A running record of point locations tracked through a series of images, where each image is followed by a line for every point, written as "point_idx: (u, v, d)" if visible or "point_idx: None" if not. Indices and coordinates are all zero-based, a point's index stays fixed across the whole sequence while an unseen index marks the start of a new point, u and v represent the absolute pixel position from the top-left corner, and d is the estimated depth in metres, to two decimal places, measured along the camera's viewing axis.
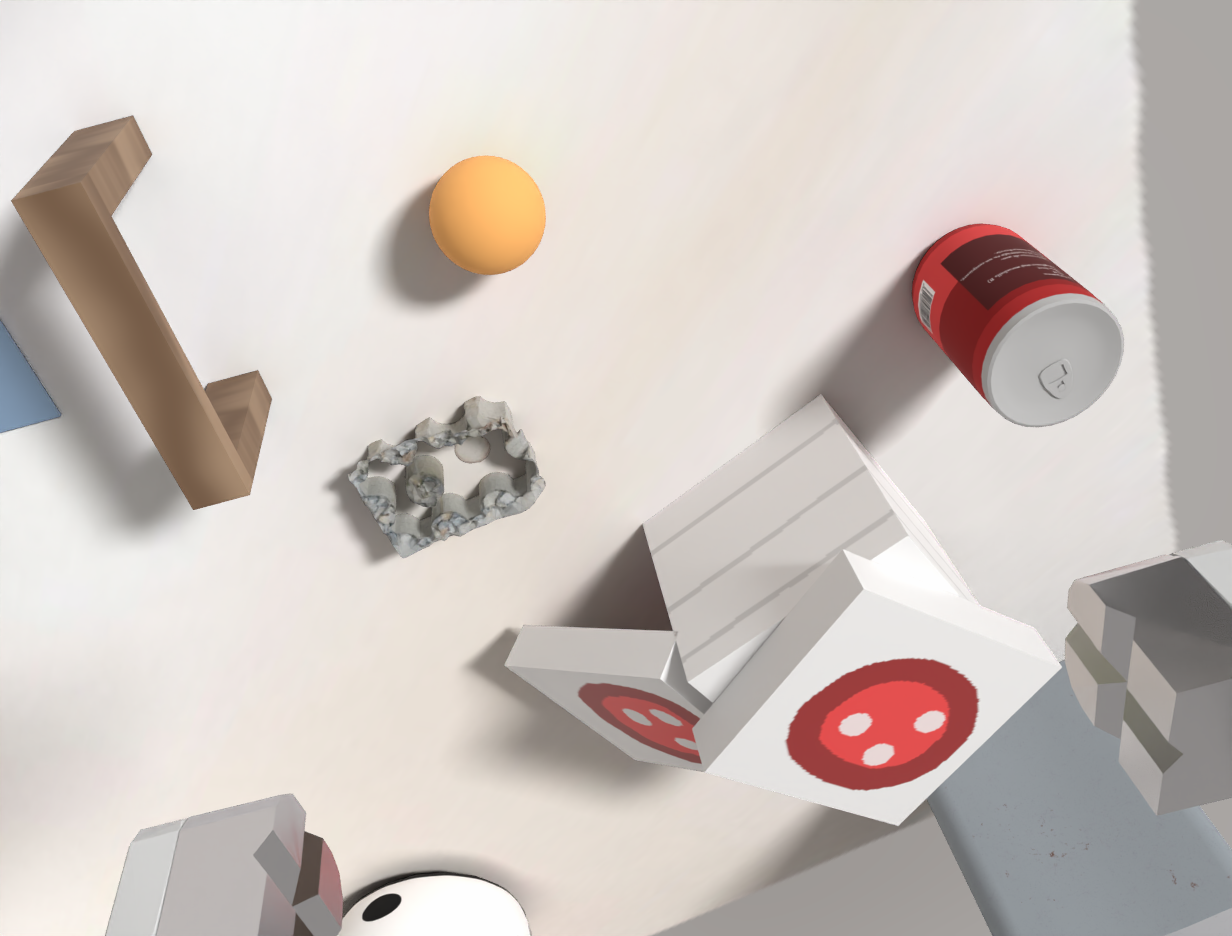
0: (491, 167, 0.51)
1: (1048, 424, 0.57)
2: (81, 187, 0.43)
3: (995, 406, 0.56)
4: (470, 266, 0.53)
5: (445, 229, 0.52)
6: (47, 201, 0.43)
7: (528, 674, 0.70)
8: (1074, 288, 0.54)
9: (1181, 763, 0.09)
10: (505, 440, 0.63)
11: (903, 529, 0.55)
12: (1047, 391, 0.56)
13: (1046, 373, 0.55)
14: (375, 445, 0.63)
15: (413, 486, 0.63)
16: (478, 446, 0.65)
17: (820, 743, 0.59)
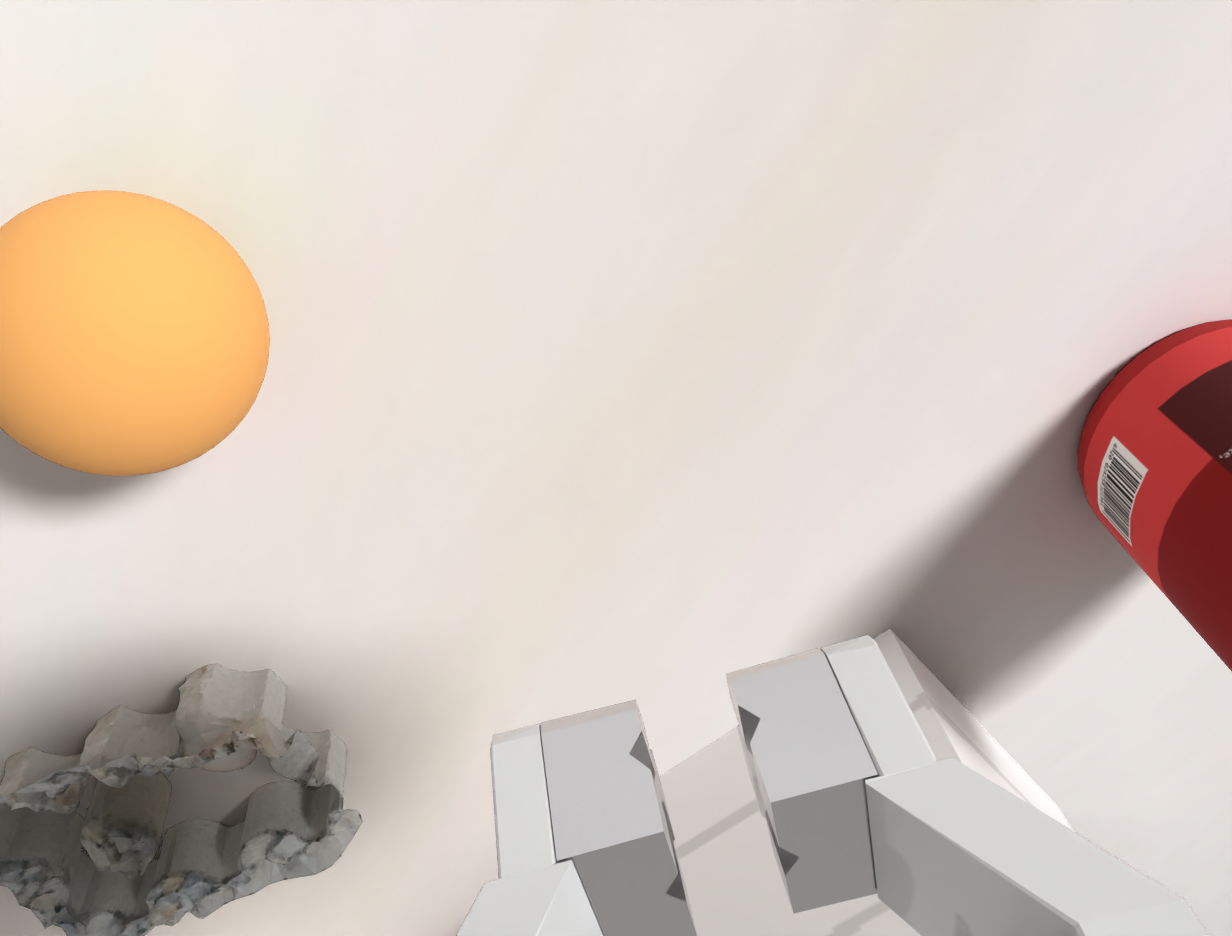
0: (89, 222, 0.20)
1: None
2: None
3: None
4: (65, 466, 0.21)
5: None
6: None
7: None
8: None
9: (801, 865, 0.09)
10: None
11: None
12: None
13: None
14: (17, 762, 0.32)
15: (91, 844, 0.32)
16: None
17: None
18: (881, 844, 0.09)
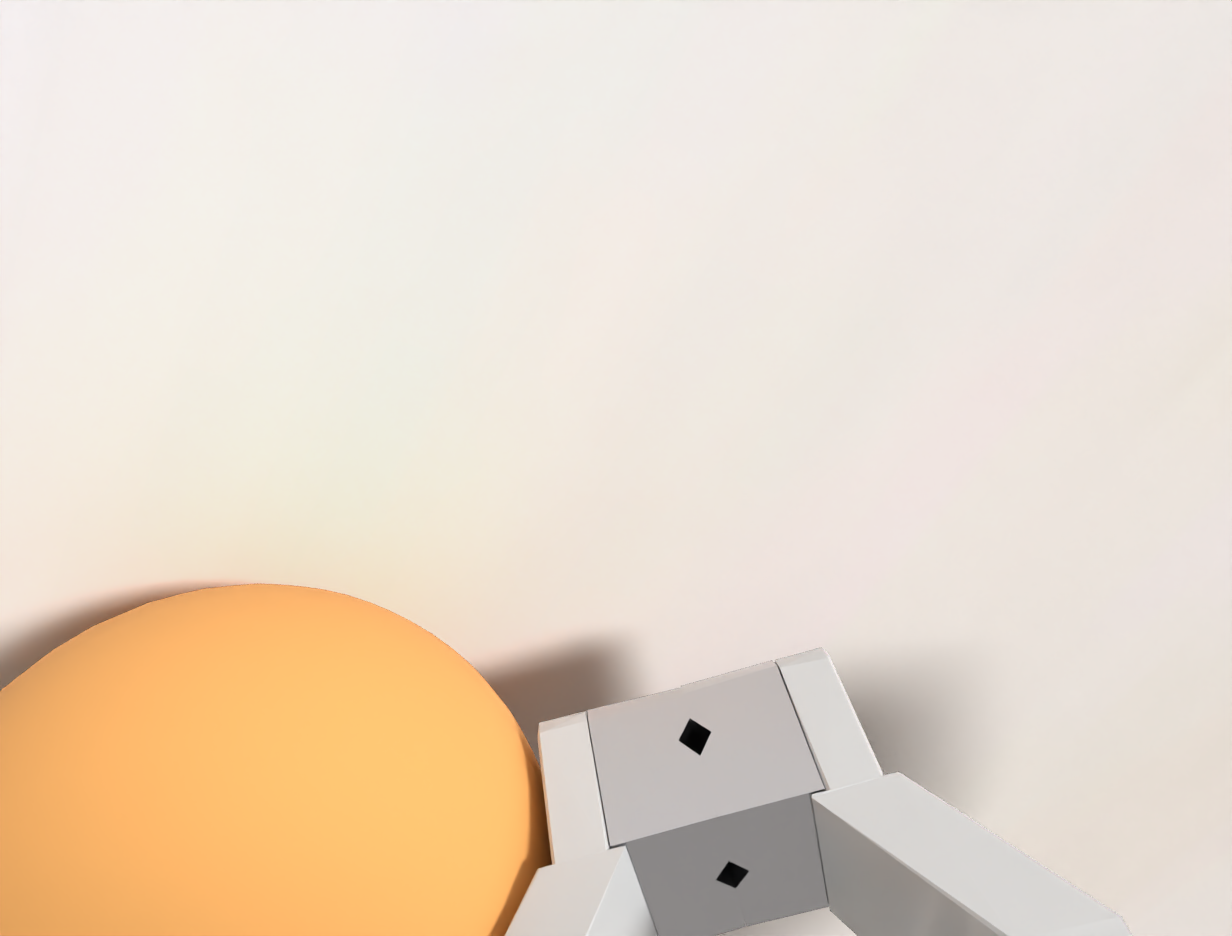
0: (157, 840, 0.07)
1: None
2: None
3: None
4: None
5: None
6: None
7: None
8: None
9: (751, 879, 0.09)
10: None
11: None
12: None
13: None
14: None
15: None
16: None
17: None
18: (829, 858, 0.09)
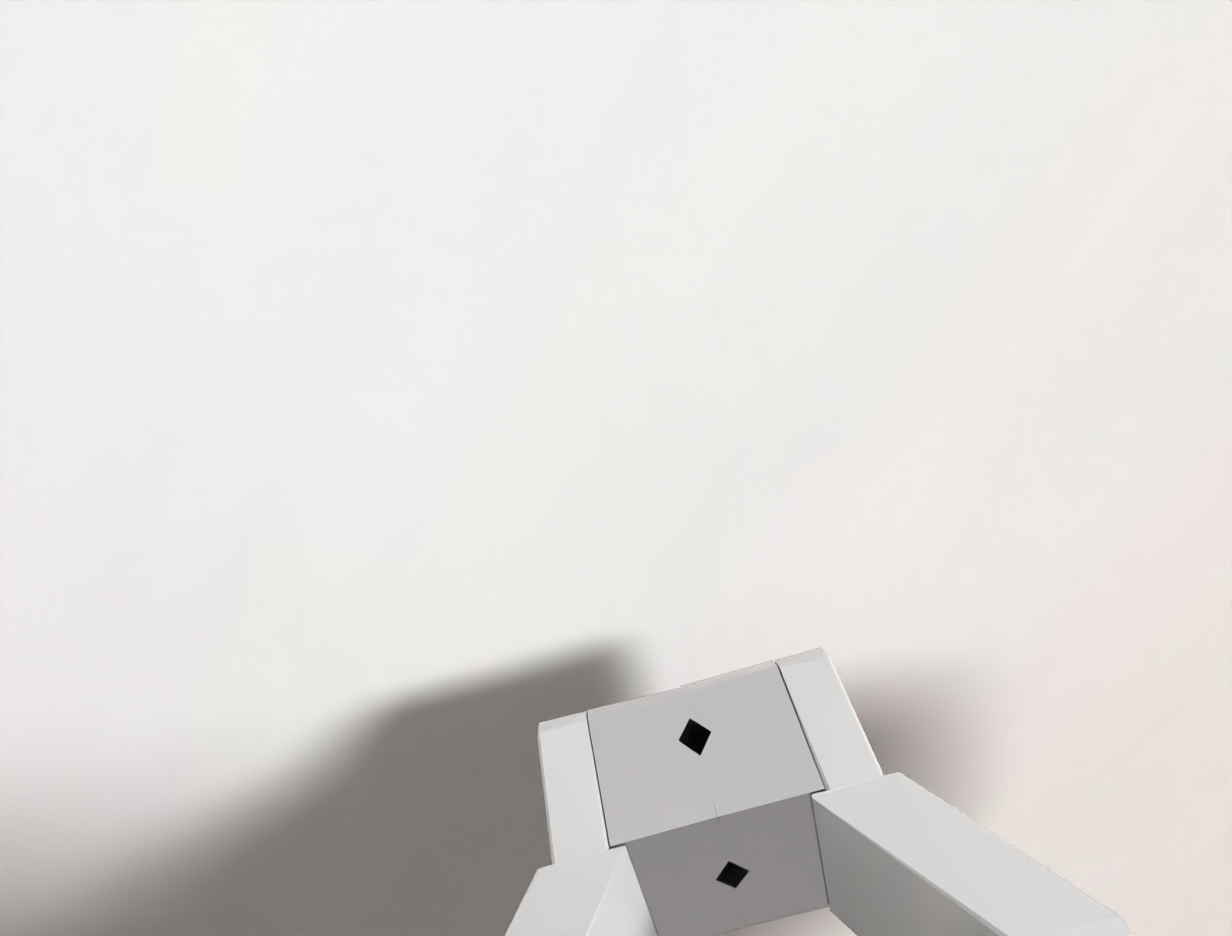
0: None
1: None
2: None
3: None
4: None
5: None
6: None
7: None
8: None
9: (751, 879, 0.09)
10: None
11: None
12: None
13: None
14: None
15: None
16: None
17: None
18: (829, 858, 0.09)
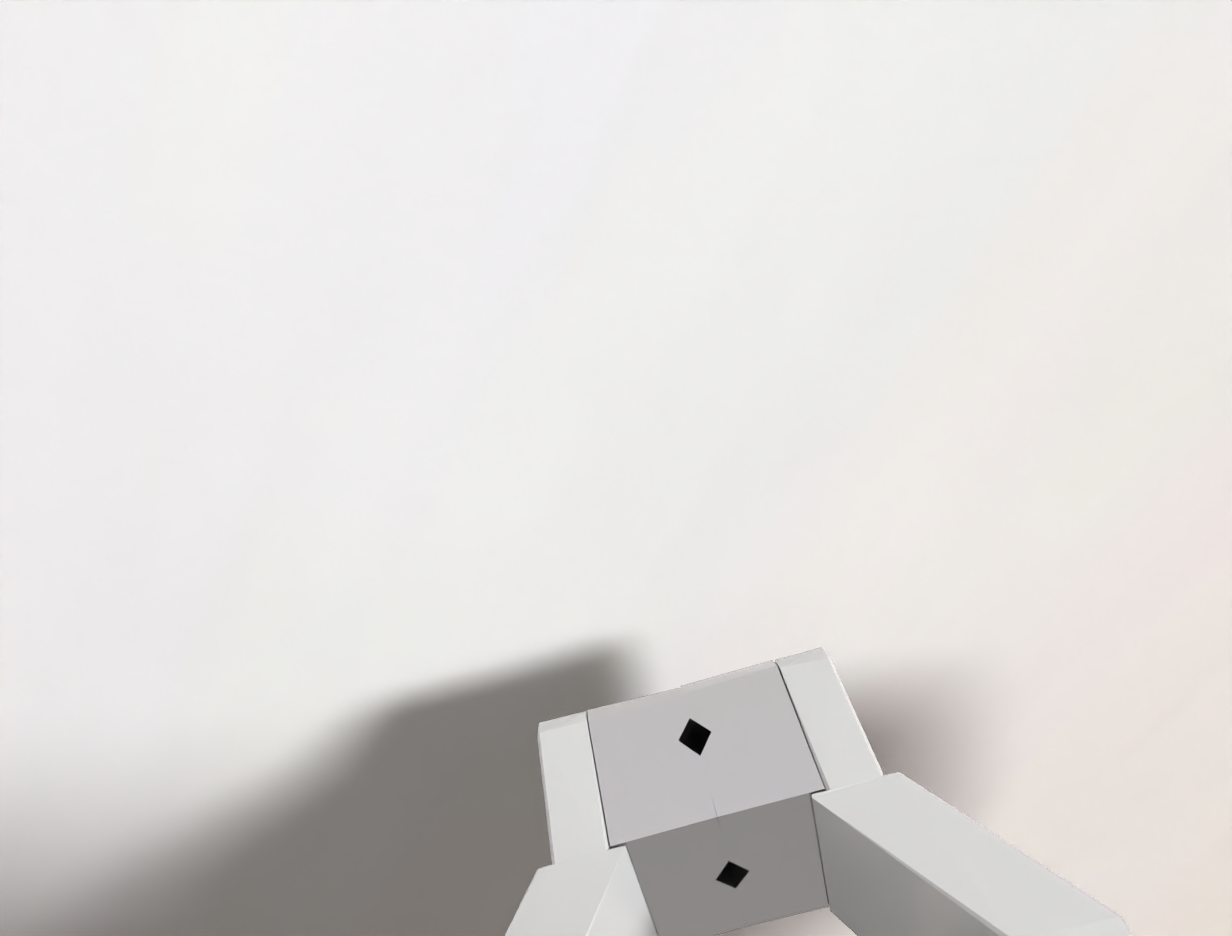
0: None
1: None
2: None
3: None
4: None
5: None
6: None
7: None
8: None
9: (751, 879, 0.09)
10: None
11: None
12: None
13: None
14: None
15: None
16: None
17: None
18: (829, 858, 0.09)
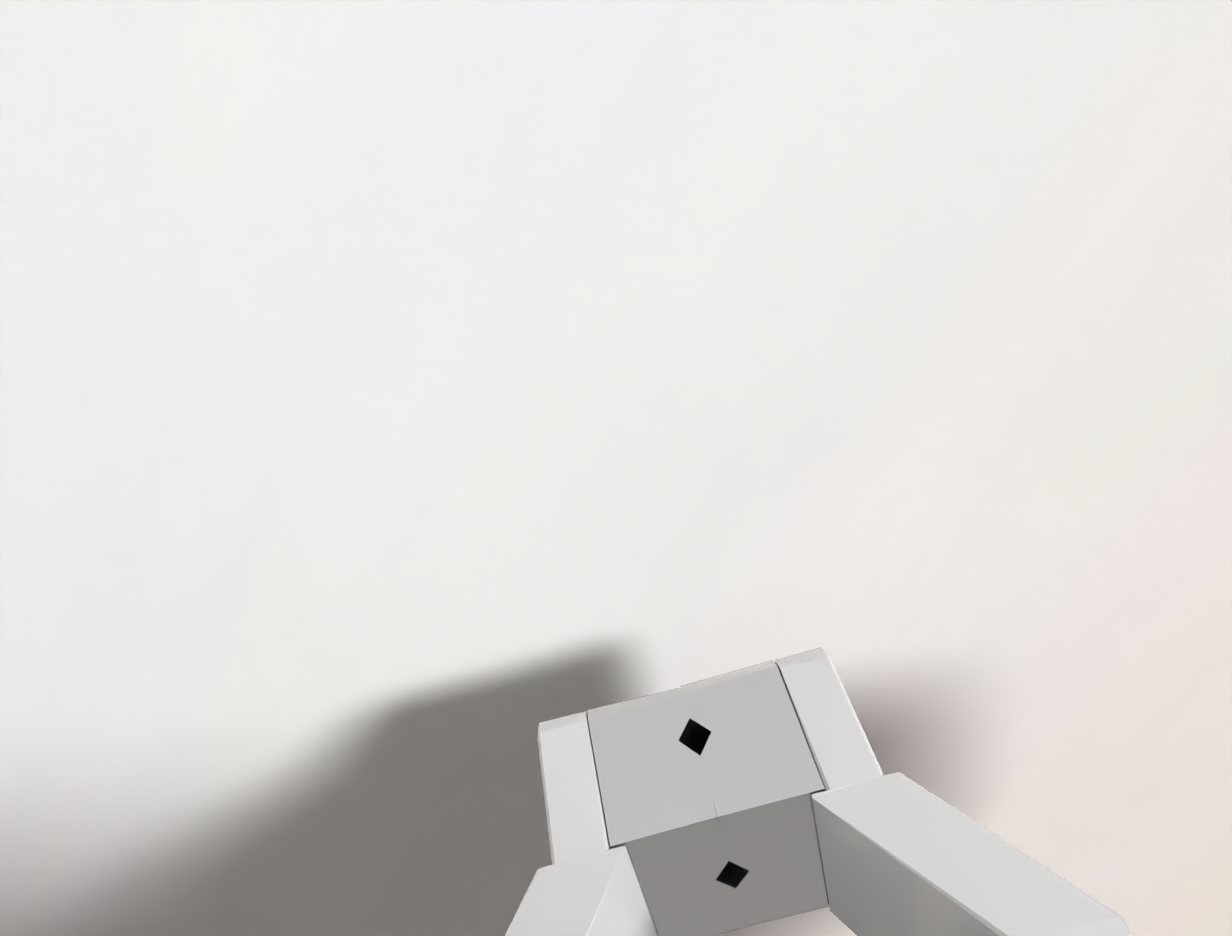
0: None
1: None
2: None
3: None
4: None
5: None
6: None
7: None
8: None
9: (751, 879, 0.09)
10: None
11: None
12: None
13: None
14: None
15: None
16: None
17: None
18: (829, 858, 0.09)
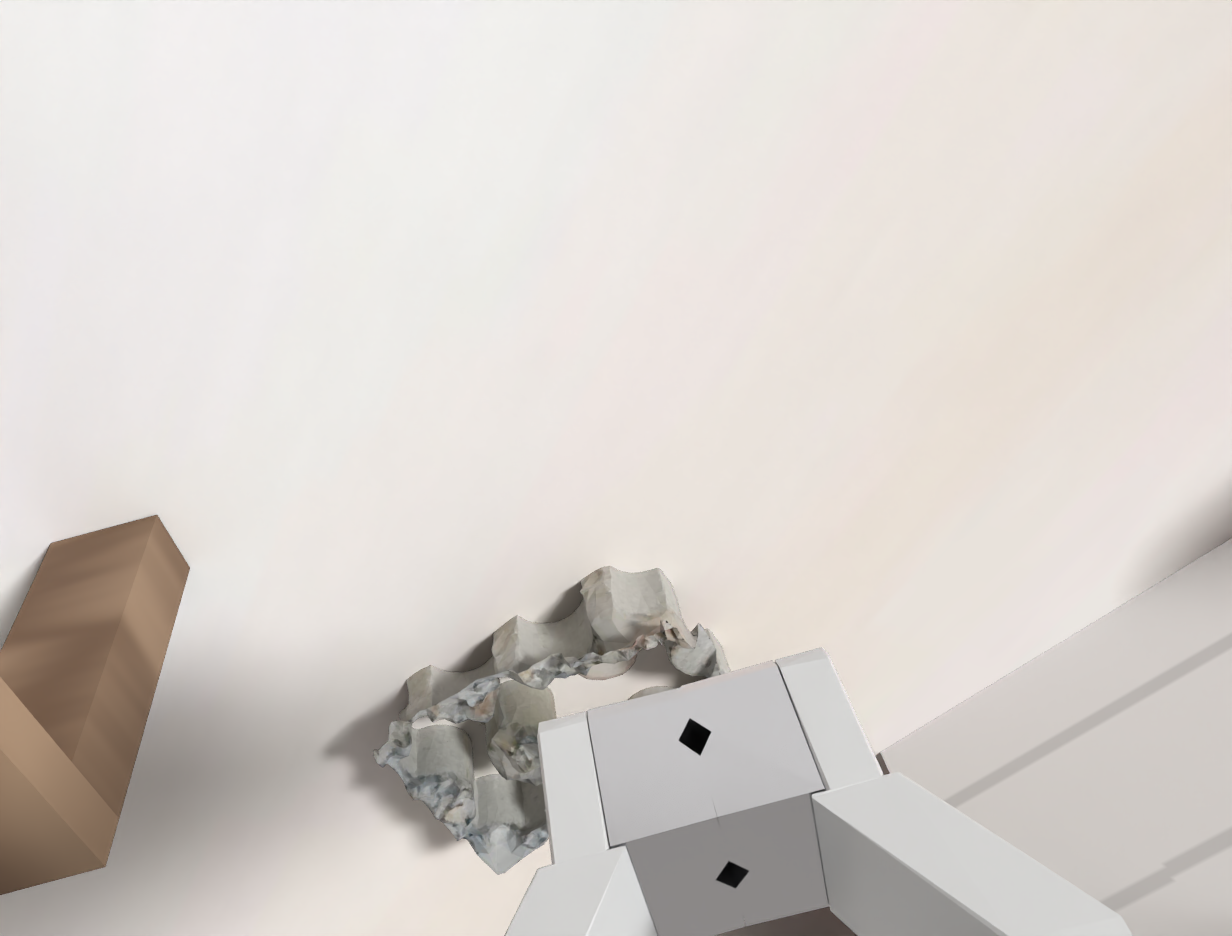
0: None
1: None
2: None
3: None
4: None
5: None
6: None
7: None
8: None
9: (752, 878, 0.09)
10: (669, 648, 0.32)
11: None
12: None
13: None
14: (421, 679, 0.33)
15: (501, 753, 0.33)
16: None
17: None
18: (830, 858, 0.09)
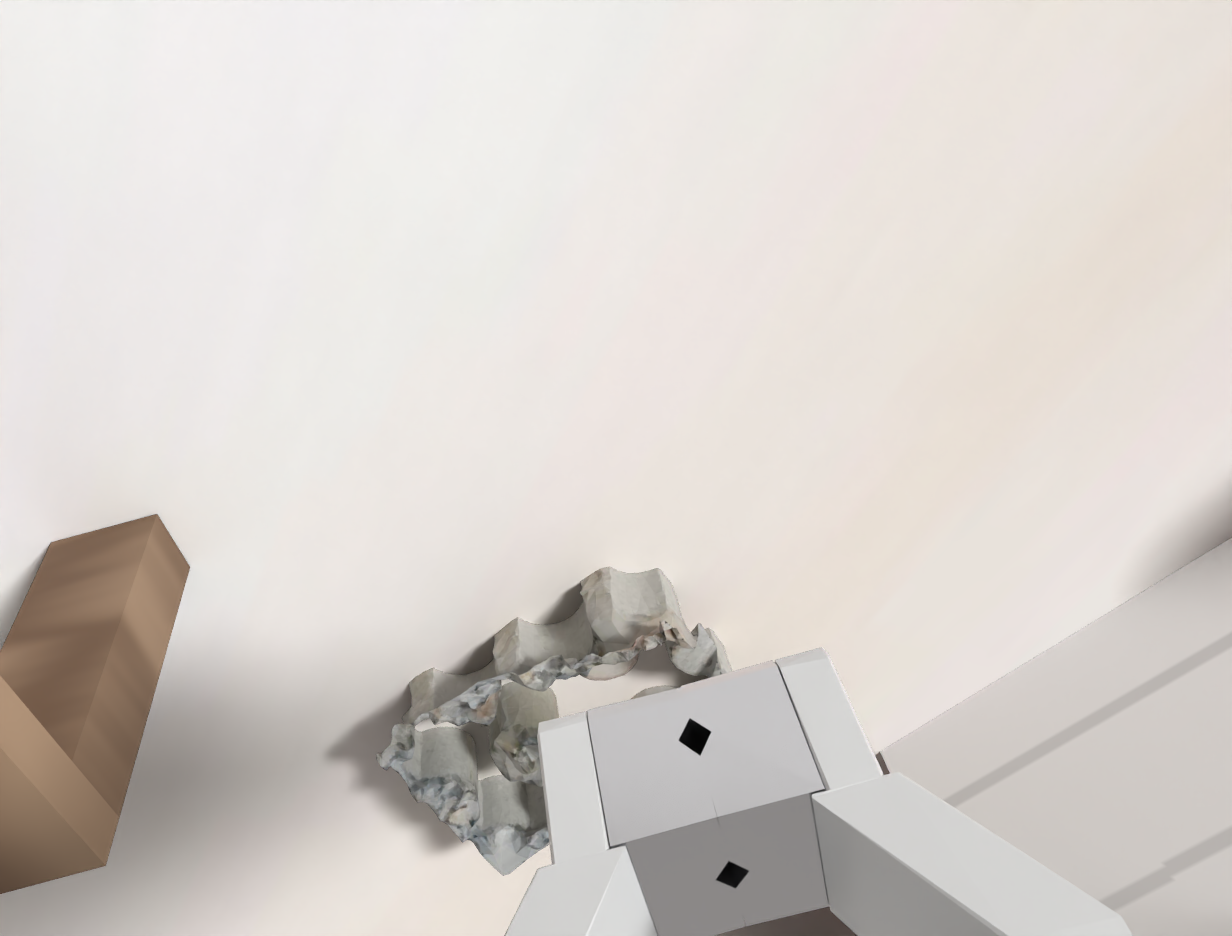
0: None
1: None
2: None
3: None
4: None
5: None
6: None
7: None
8: None
9: (751, 879, 0.09)
10: (670, 648, 0.32)
11: None
12: None
13: None
14: (423, 682, 0.33)
15: (504, 754, 0.33)
16: None
17: None
18: (830, 858, 0.09)
